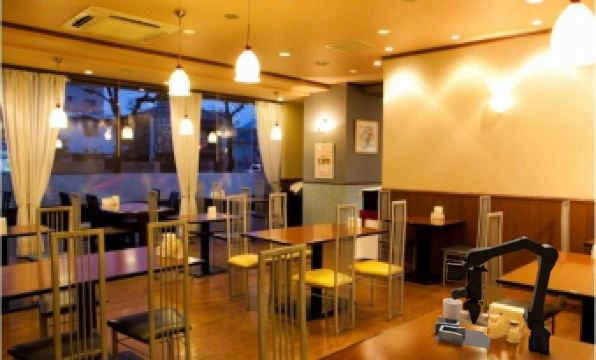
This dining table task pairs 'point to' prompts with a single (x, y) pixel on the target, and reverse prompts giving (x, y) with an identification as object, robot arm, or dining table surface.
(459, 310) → the white cup
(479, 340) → the mat
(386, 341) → the dining table surface
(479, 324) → the wooden block
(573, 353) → the dining table surface
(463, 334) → the end cap
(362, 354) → the dining table surface
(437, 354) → the dining table surface
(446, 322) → the end cap
